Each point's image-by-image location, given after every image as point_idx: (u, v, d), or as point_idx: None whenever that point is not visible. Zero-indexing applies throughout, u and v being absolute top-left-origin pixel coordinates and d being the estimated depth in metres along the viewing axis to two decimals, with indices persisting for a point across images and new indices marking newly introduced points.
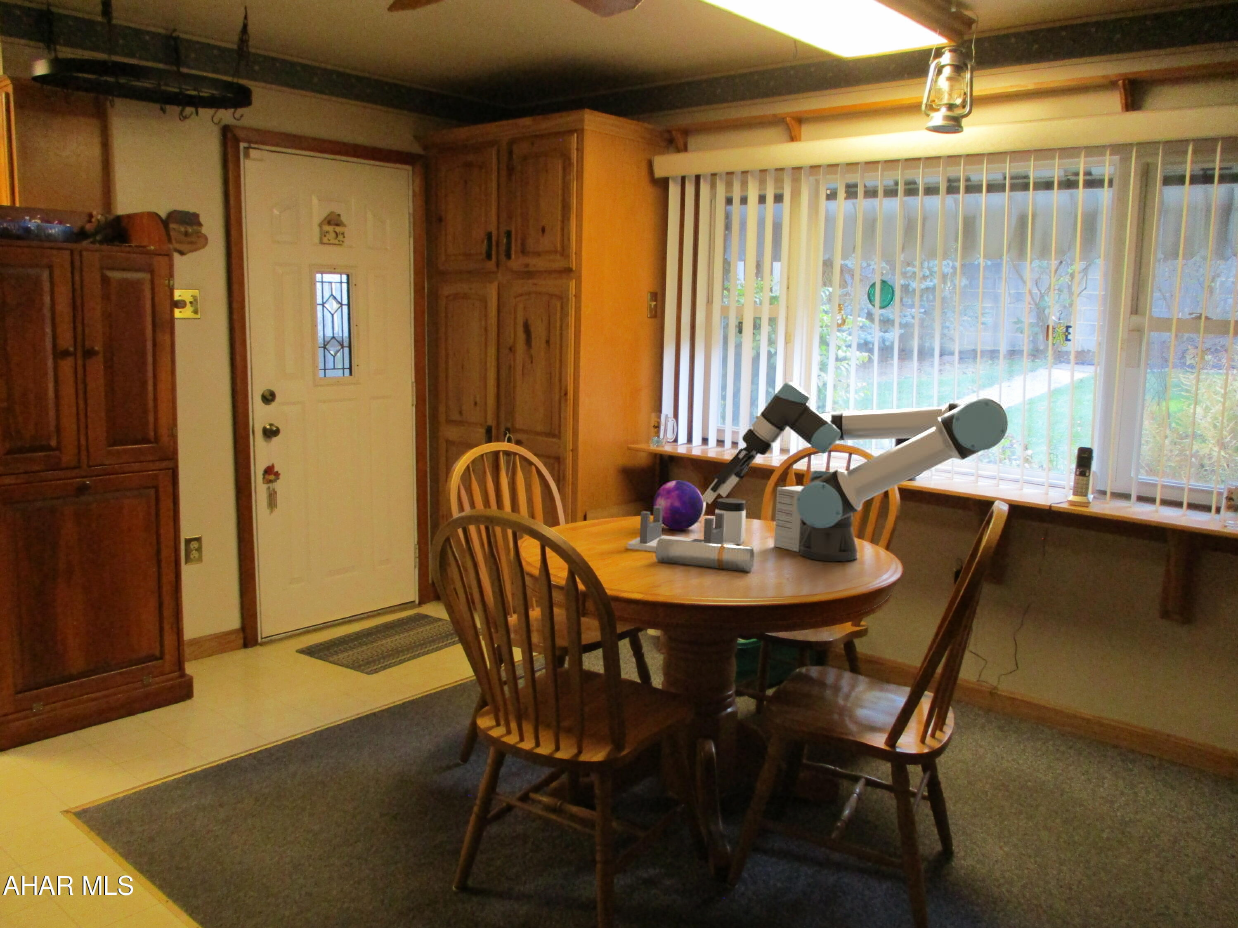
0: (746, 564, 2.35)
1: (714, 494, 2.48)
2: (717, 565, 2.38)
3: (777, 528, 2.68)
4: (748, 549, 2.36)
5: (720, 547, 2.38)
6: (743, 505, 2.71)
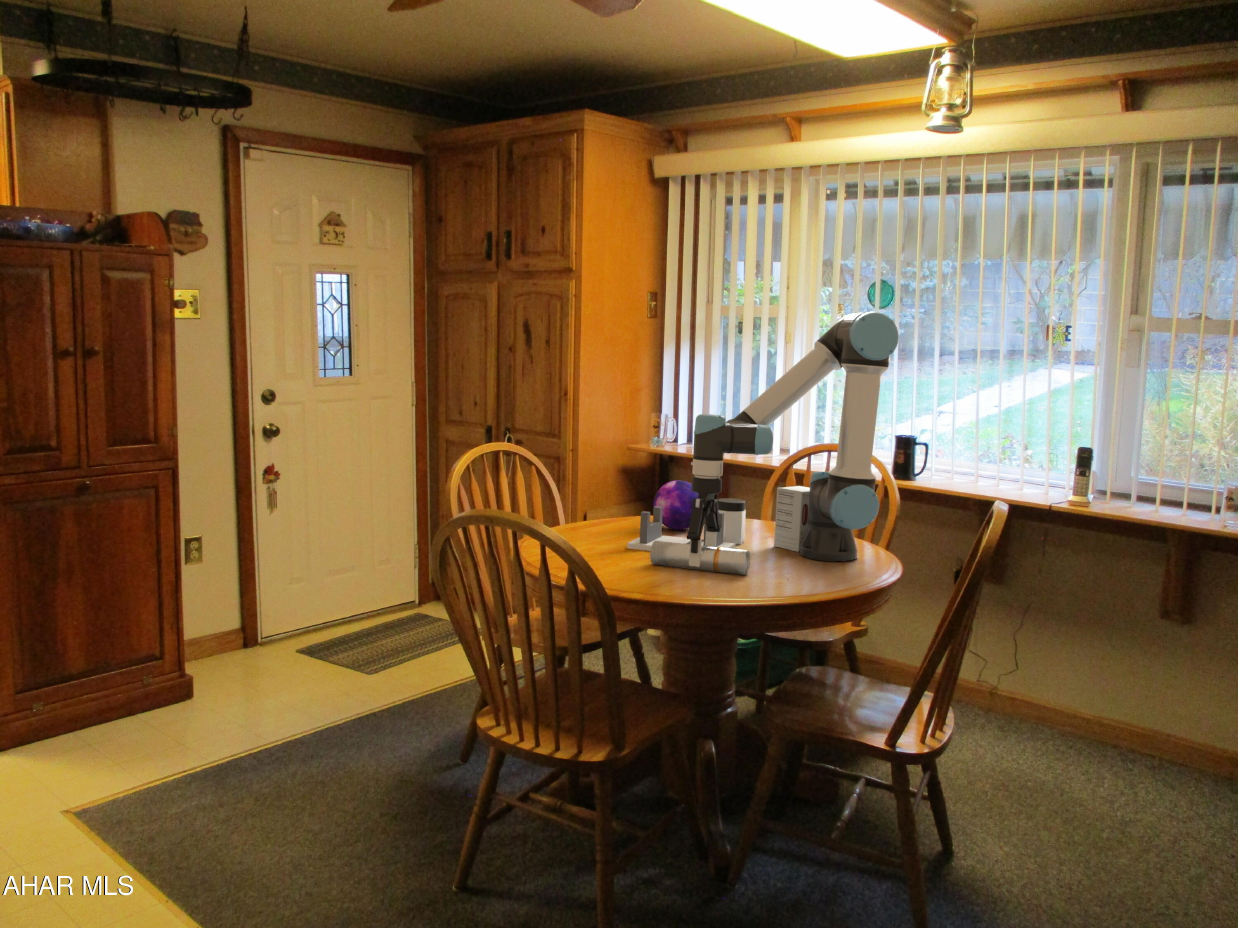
0: (744, 574, 2.34)
1: (698, 555, 2.34)
2: None
3: (777, 528, 2.68)
4: (742, 565, 2.31)
5: (713, 564, 2.34)
6: (743, 505, 2.71)
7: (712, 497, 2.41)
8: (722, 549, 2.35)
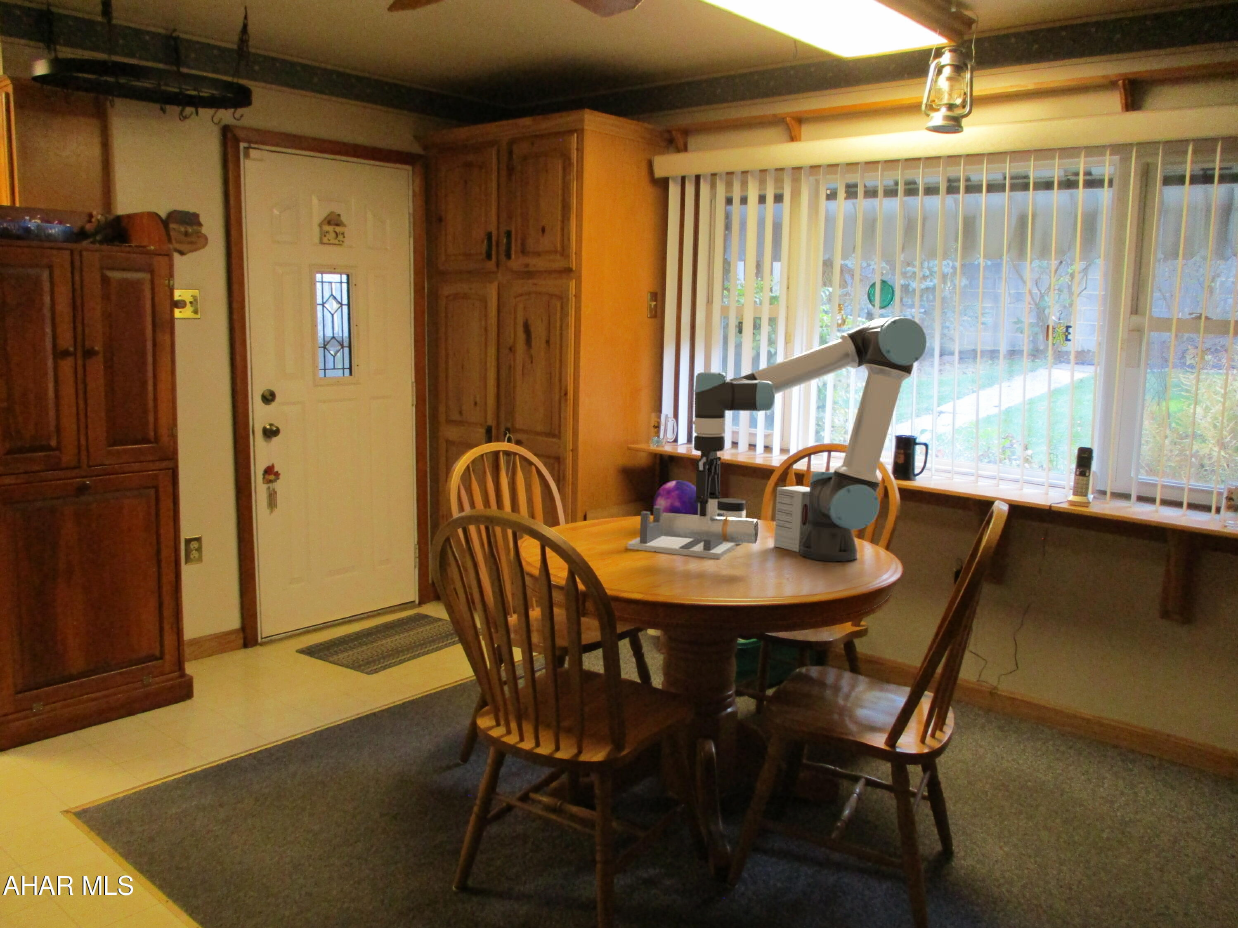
0: (751, 539, 2.34)
1: (706, 518, 2.37)
2: (722, 540, 2.38)
3: (777, 528, 2.68)
4: (751, 523, 2.34)
5: (723, 523, 2.37)
6: (743, 505, 2.71)
7: (715, 454, 2.40)
8: None
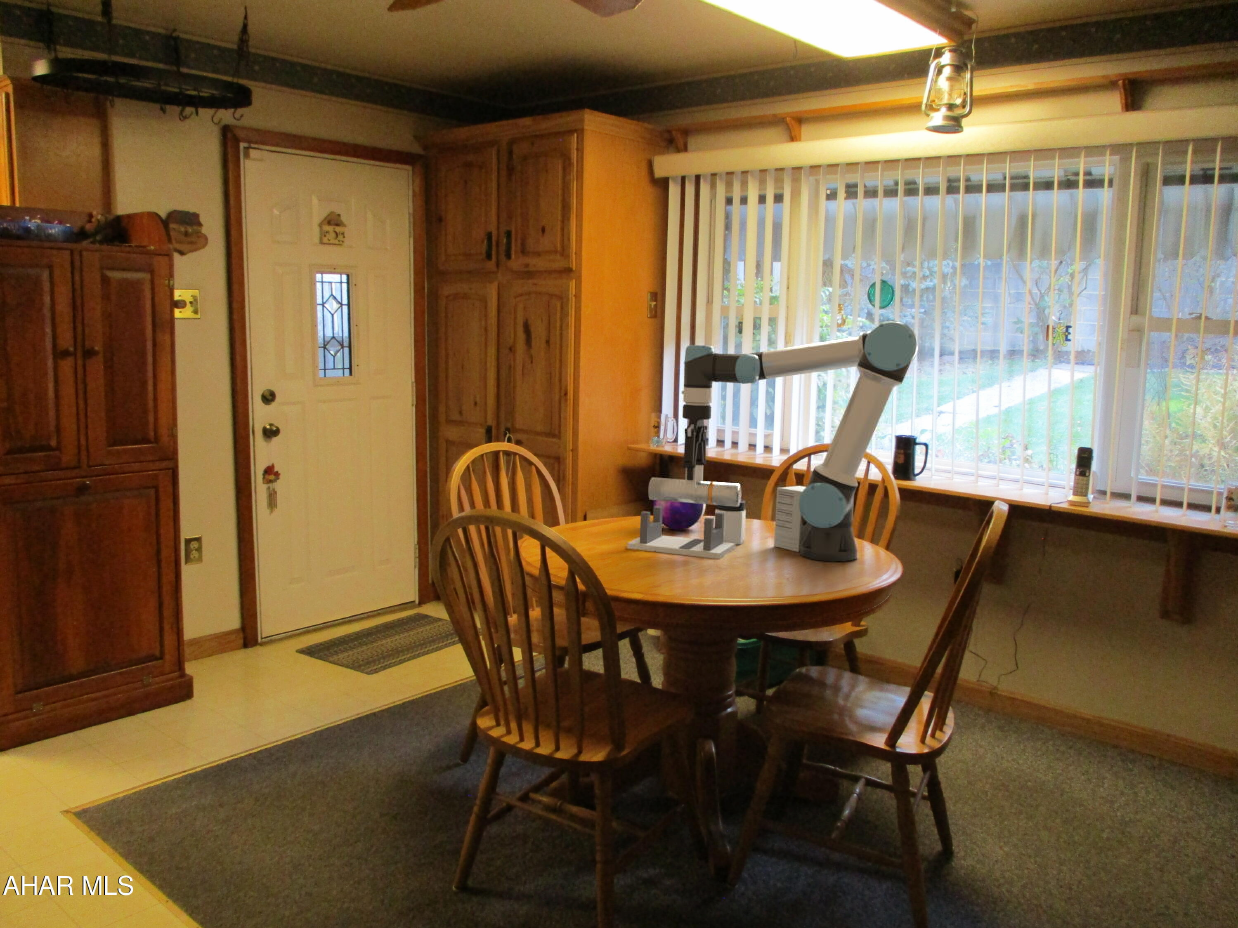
0: (734, 502, 2.50)
1: (693, 482, 2.52)
2: (707, 503, 2.53)
3: (777, 528, 2.68)
4: (735, 487, 2.50)
5: (709, 486, 2.52)
6: (743, 505, 2.71)
7: (702, 422, 2.55)
8: None
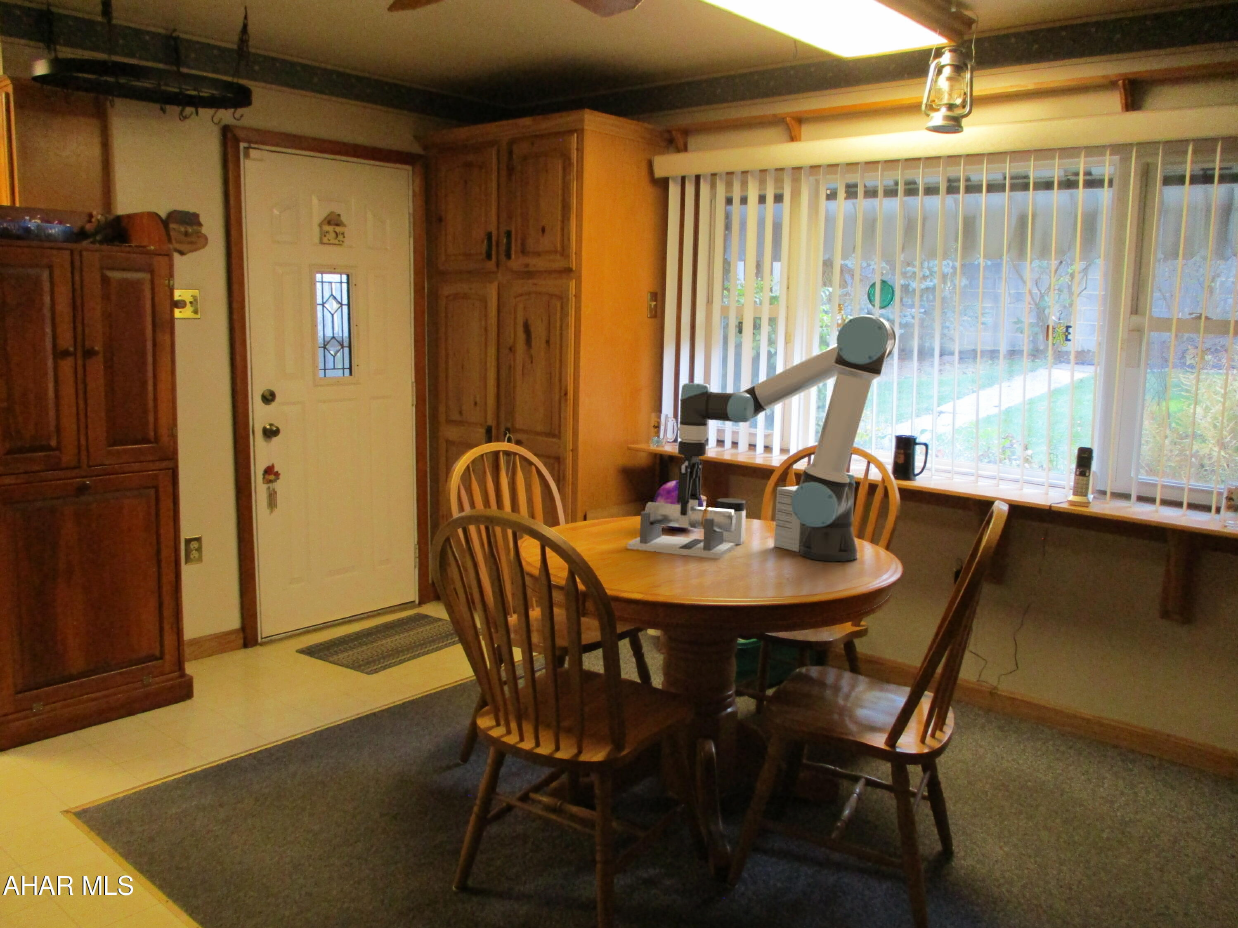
0: (728, 528, 2.55)
1: (687, 517, 2.57)
2: (702, 528, 2.58)
3: (777, 528, 2.68)
4: (729, 514, 2.54)
5: (703, 513, 2.57)
6: (743, 505, 2.71)
7: (697, 459, 2.61)
8: None
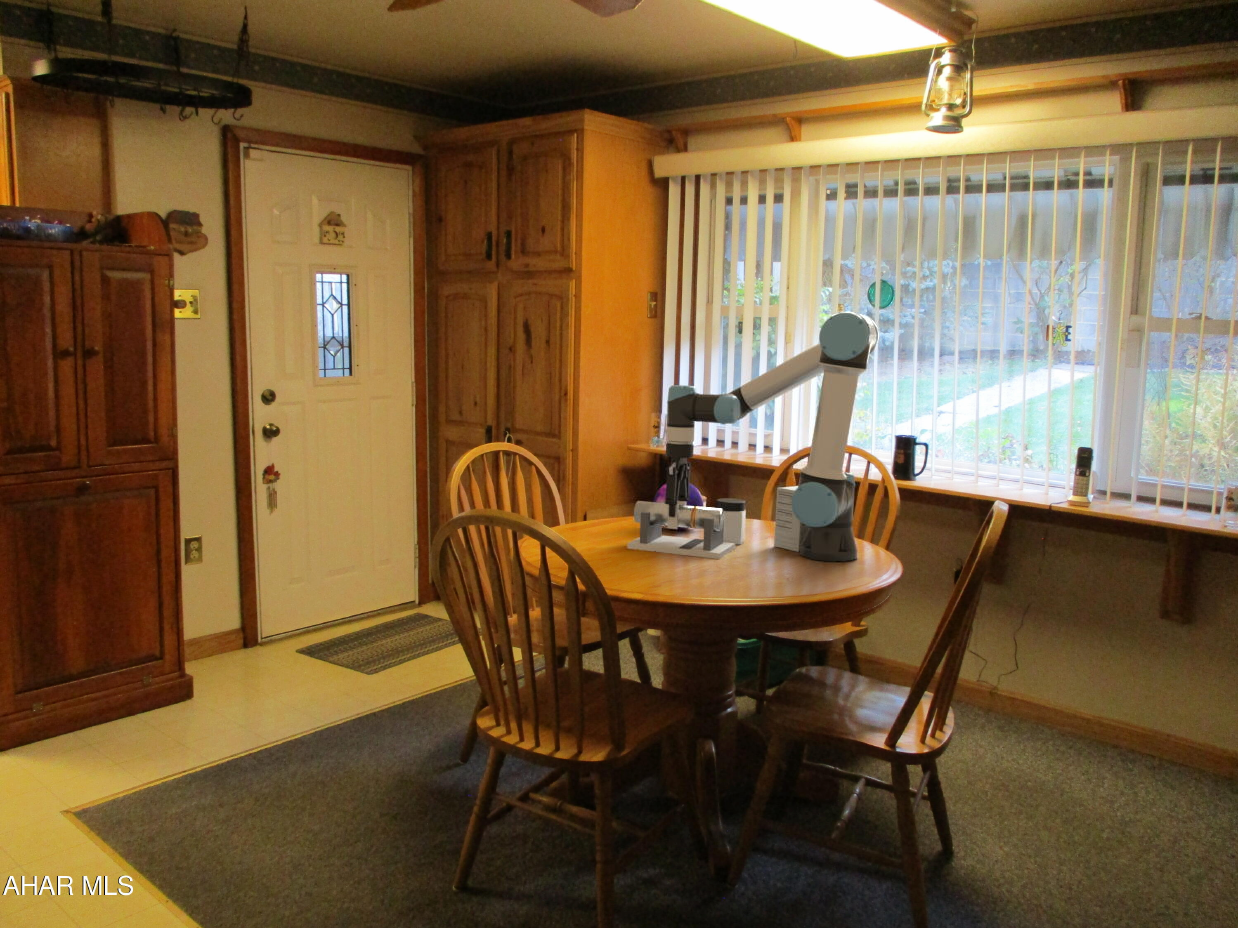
0: (717, 527, 2.56)
1: (675, 518, 2.59)
2: (691, 527, 2.60)
3: (777, 528, 2.68)
4: (717, 513, 2.56)
5: (692, 512, 2.58)
6: (743, 505, 2.71)
7: (685, 460, 2.62)
8: None
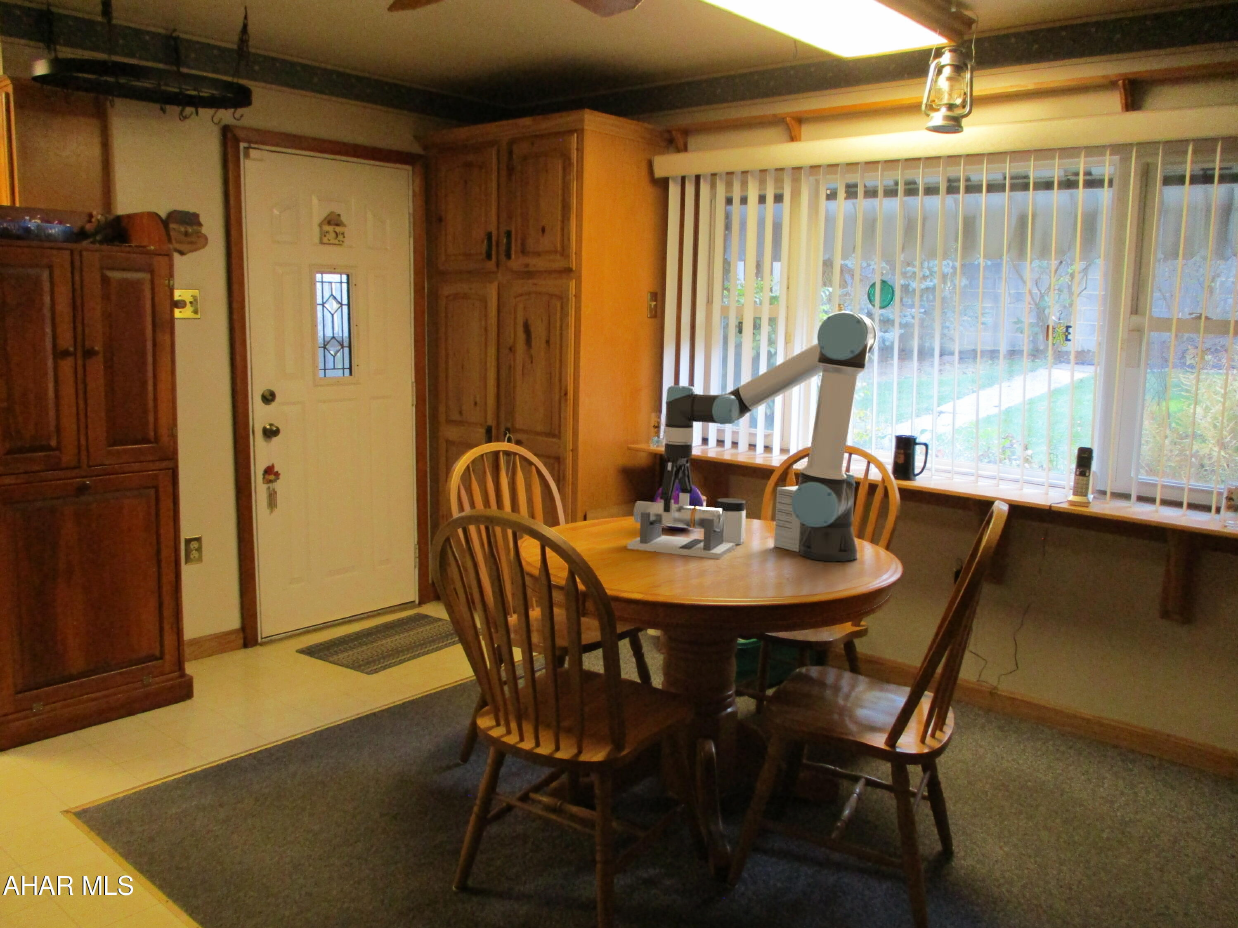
0: (716, 527, 2.56)
1: (670, 513, 2.56)
2: (691, 527, 2.60)
3: (777, 528, 2.68)
4: (717, 513, 2.56)
5: (691, 512, 2.58)
6: (743, 505, 2.71)
7: (684, 462, 2.62)
8: None
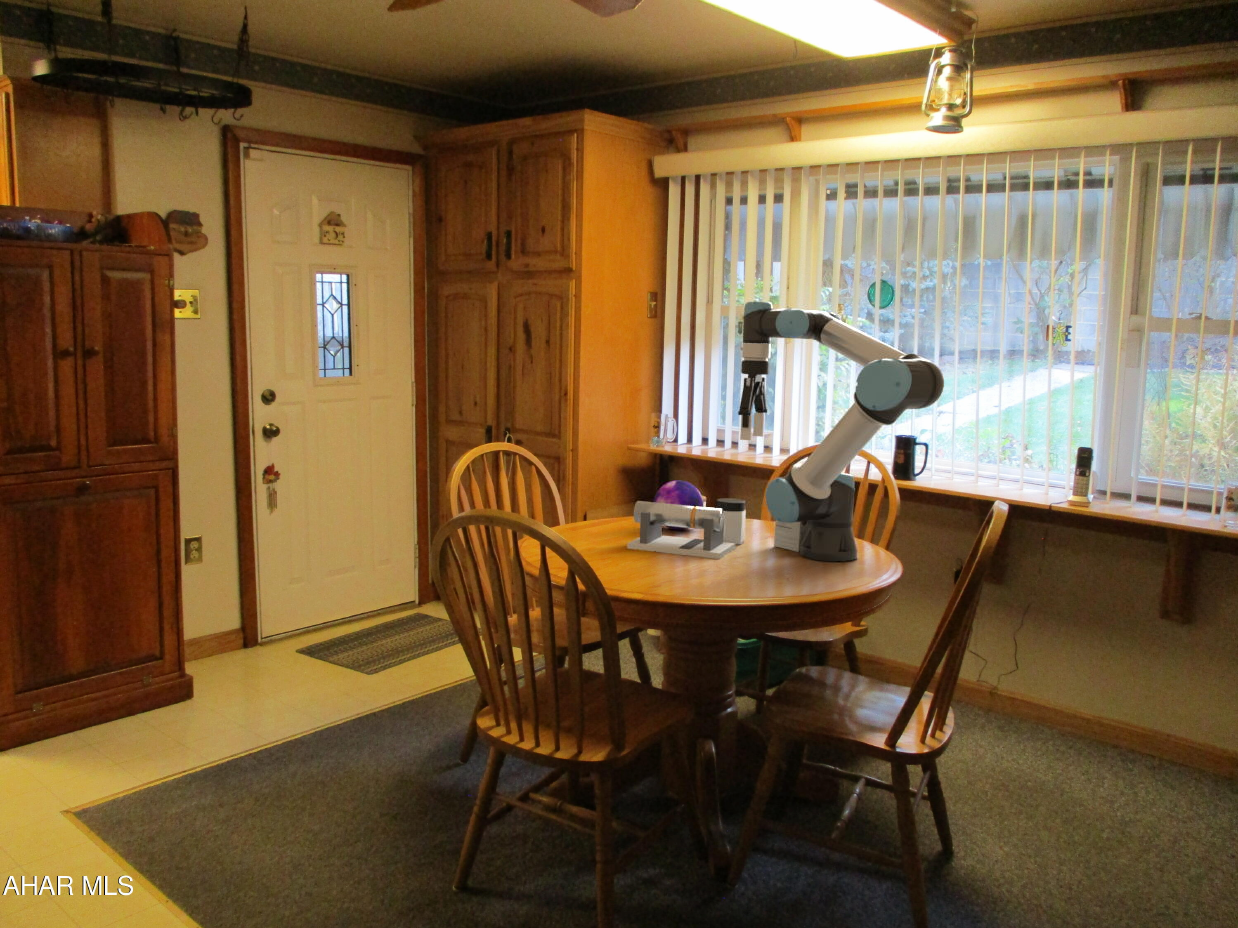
0: (716, 527, 2.56)
1: (748, 429, 2.54)
2: (691, 527, 2.60)
3: (777, 528, 2.68)
4: (717, 513, 2.56)
5: (691, 512, 2.58)
6: (743, 505, 2.71)
7: (760, 380, 2.61)
8: None
